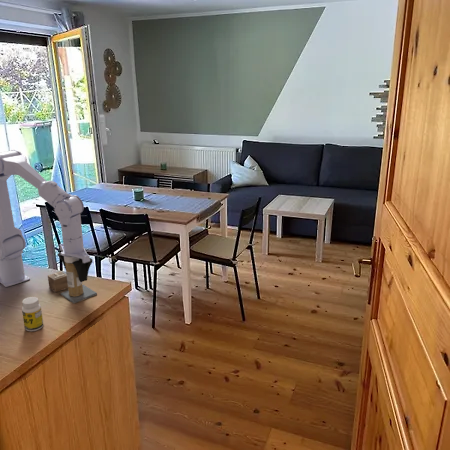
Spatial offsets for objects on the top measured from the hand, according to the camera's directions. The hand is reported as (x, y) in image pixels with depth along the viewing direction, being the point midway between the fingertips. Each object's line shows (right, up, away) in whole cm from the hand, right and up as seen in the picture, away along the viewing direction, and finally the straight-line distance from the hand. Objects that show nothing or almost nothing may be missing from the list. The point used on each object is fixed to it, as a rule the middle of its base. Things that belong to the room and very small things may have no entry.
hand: (76, 276), depth 132 cm
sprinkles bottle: (-1, -6, +1) cm, 6 cm away
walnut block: (-8, -4, +6) cm, 11 cm away
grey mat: (0, -6, +2) cm, 6 cm away
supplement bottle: (-6, -12, -16) cm, 21 cm away
